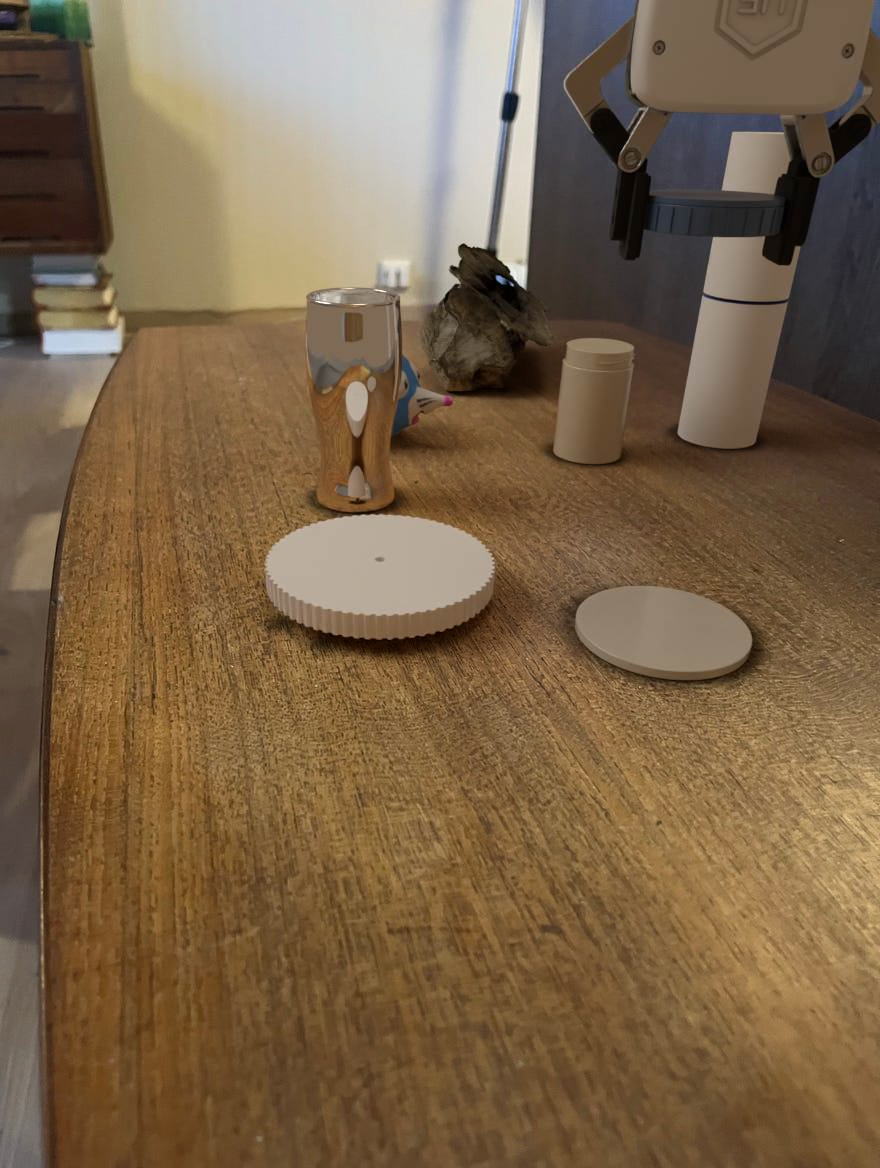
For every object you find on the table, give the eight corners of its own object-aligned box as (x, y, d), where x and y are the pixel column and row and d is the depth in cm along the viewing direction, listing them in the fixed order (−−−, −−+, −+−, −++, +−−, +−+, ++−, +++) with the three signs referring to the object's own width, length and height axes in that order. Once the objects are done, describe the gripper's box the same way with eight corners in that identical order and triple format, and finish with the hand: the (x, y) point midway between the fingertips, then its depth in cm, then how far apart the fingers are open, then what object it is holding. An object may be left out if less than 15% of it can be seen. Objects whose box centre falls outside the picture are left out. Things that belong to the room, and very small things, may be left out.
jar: (630, 450, 80) (646, 343, 75) (606, 469, 75) (622, 357, 71) (568, 438, 82) (580, 334, 78) (541, 455, 78) (553, 347, 73)
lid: (772, 241, 41) (780, 203, 41) (623, 231, 44) (627, 196, 43) (785, 226, 47) (792, 193, 46) (651, 219, 50) (656, 187, 49)
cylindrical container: (678, 444, 81) (735, 132, 68) (676, 421, 87) (729, 131, 74) (759, 451, 80) (833, 135, 67) (751, 428, 86) (818, 133, 73)
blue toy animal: (431, 470, 75) (435, 369, 70) (302, 452, 78) (298, 355, 73) (468, 429, 84) (473, 338, 80) (352, 415, 87) (351, 327, 83)
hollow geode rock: (490, 378, 119) (417, 287, 115) (566, 313, 112) (492, 216, 109) (453, 434, 95) (359, 323, 91) (547, 356, 89) (451, 233, 85)
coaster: (770, 624, 53) (773, 615, 53) (719, 702, 46) (721, 692, 45) (614, 579, 58) (615, 570, 57) (545, 643, 51) (546, 634, 50)
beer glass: (416, 492, 70) (421, 293, 62) (369, 522, 65) (369, 308, 57) (343, 475, 73) (339, 283, 65) (293, 503, 68) (282, 297, 60)
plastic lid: (301, 540, 62) (300, 506, 61) (500, 558, 60) (503, 523, 59) (236, 641, 50) (232, 602, 49) (481, 667, 48) (484, 627, 47)
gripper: (583, -226, 34) (538, 264, 44) (1047, -227, 33) (900, 276, 42) (569, -173, 41) (532, 245, 50) (957, -172, 40) (846, 255, 49)
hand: (701, 256), depth 46 cm, fingers closed on lid, 7 cm apart
